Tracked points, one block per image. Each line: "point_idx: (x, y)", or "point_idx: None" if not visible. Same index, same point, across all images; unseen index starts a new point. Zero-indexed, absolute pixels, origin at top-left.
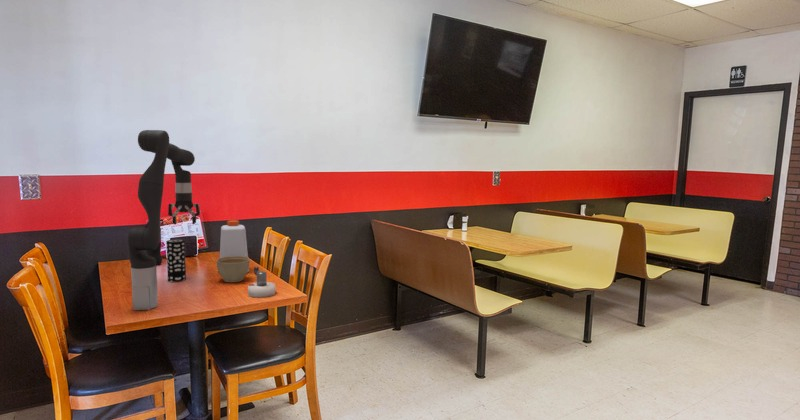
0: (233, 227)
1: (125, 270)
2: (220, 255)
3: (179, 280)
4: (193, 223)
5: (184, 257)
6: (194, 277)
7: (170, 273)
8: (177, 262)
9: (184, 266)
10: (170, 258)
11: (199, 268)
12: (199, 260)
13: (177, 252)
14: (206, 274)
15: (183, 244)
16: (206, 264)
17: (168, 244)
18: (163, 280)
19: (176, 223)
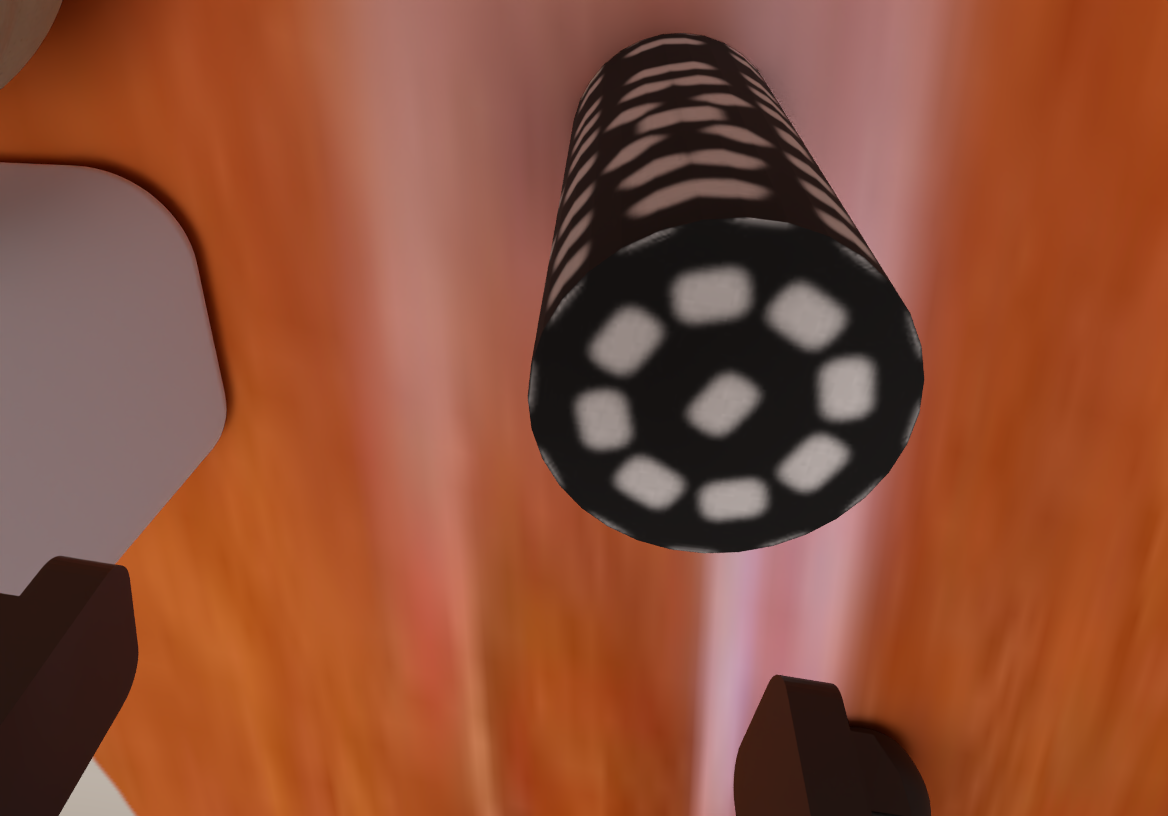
0: None
1: (1098, 667)
2: (57, 344)
3: (647, 40)
4: (61, 571)
5: (563, 198)
6: (477, 197)
7: (764, 85)
8: (677, 95)
9: (575, 143)
10: (794, 142)
11: (452, 551)
12: (472, 791)
13: (682, 145)
14: (354, 293)
15: (558, 280)
16: (399, 663)
17: (880, 267)
18: (823, 171)
19: (735, 779)
